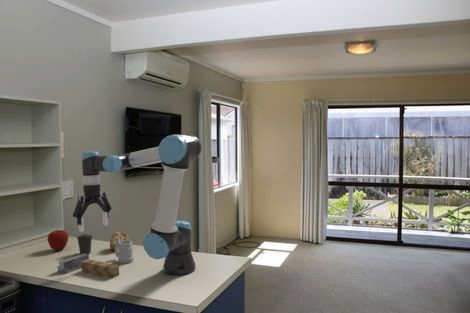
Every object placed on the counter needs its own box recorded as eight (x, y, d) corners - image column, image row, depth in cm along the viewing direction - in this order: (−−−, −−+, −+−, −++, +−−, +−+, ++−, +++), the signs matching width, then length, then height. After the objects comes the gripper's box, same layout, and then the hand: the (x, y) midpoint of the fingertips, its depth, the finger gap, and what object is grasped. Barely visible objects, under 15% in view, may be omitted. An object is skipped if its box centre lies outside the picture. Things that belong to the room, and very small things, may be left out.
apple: (45, 250, 217) (44, 229, 216) (64, 246, 224) (64, 226, 224) (51, 254, 209) (50, 233, 208) (71, 250, 216) (70, 229, 216)
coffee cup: (87, 250, 215) (86, 232, 215) (96, 252, 211) (95, 234, 210) (74, 254, 209) (73, 235, 208) (83, 256, 204) (82, 238, 203)
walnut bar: (119, 275, 176) (118, 265, 175) (112, 278, 172) (112, 267, 172) (88, 269, 185) (88, 259, 185) (81, 272, 182) (81, 261, 181)
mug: (125, 264, 190) (124, 240, 189) (109, 260, 196) (108, 237, 195) (137, 260, 196) (136, 237, 195) (121, 256, 203) (120, 234, 202)
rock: (112, 246, 221) (111, 229, 221) (130, 245, 222) (129, 228, 222) (107, 253, 209) (106, 234, 209) (126, 252, 211) (126, 234, 210)
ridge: (90, 264, 191) (90, 254, 191) (65, 273, 179) (65, 263, 179) (82, 262, 194) (82, 253, 194) (57, 271, 182) (57, 261, 182)
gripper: (107, 180, 195) (109, 222, 196) (62, 187, 173) (65, 233, 175) (117, 181, 191) (119, 223, 192) (73, 187, 170) (75, 235, 171)
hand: (93, 228), depth 183 cm, fingers open, 13 cm apart
